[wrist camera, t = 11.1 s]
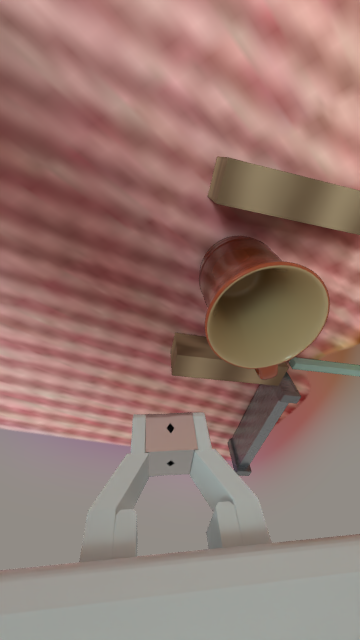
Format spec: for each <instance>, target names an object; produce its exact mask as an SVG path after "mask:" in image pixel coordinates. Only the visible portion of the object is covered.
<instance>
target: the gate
mask: <svg viewBox="0 0 360 640" xmlns="http://www.w3.org/2000/svg"><path fill="white" fill-rule="evenodd" d="M300 398H301V395H300V394H299V392H298V390H297V389H296V387H295V385H294V384H293V382H292V380H291V378H290V377H289V375H288V373H287V372H286V373H285V375H284V377H283V378H282V380H281V382H280V384H279V385H278V386H275V385H265V384H260V386H259V388H258V390H257V392H256V393H255V395H254V397H253V399H252V401H251V403H250V405H249V407H248V409H247V411H246V413H245V415H244V417H243V419H242V420H241V422H240V424H239V426H238V428H237V430H236V432H235V434H234V436H233V438H232V439H230V440H229V442H228V447H229V451H230V455H231V459H232V463H233V468H234V471H235V472H236V473H237V474H238V475H240V476H249V475H250V473H251V468H250V463H251V461H252V460H253V458H254V457H255V455H256V454H257V452H258V450H259V449H260V447H261V446H262V444H263V443H264V441H265V439H266V438H267V436H268V435H269V433H270V432H271V430H272V428H273V427H274V425H275V424H276V422H277V421H278V419H279V417H280V416H281V414H282V413H283V411H284V410H285V408H286V406H287V405H288V403H297V402H298V401H299V399H300Z"/></svg>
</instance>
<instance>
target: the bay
mask: <svg viewBox="0 0 360 640" xmlns="http://www.w3.org/2000/svg"><path fill="white" fill-rule="evenodd" d="M289 364H290V366H291V367H292V369H298V370H307V371H316V372H324V373H334V374H342V375H351V376H360V365H353V364H345V363H336V362H329V361H321V360H312V359H304V358H296V357H294V358H293V359H291V360H290V361H289Z"/></svg>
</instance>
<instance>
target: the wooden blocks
mask: <svg viewBox="0 0 360 640" xmlns="http://www.w3.org/2000/svg"><path fill="white" fill-rule="evenodd" d="M208 197H209V198H210V199H211V200H213V201H214V202H215V203H216V204H220V205H224V206H229V207H234V208H238V209H243V210H247V211H252V212H257V213H261V214H266V215H270V216H275V217H279V218H284V219H289V220H293V221H298V222H302V223H307V224H312V225H316V226H321V227H325V228H330V229H335V230H339V231H344V232H348V233H353V234H357V235H360V191H359V190H355V189H351V188H347V187H343V186H339V185H335V184H331V183H327V182H323V181H319V180H315V179H311V178H307V177H303V176H300V175H296V174H292V173H288V172H284V171H280V170H276V169H272V168H268V167H264V166H260V165H256V164H252V163H248V162H244V161H240V160H236V159H232V158H227V157H217V159H216V164H215V168H214V172H213V176H212V180H211V185H210V189H209V193H208ZM171 368H172V375H174V376H184V377H194V378H204V379H214V380H225V381H235V382H245V383H255V384H265V385H275V386H278V385H279V384H280V382H281V380H282V378H283V377H284V375H285V373H286V371H287V370H288V368H289V367H288V365H287V364H286V362H283V363H281V364H278V374H277V376H276V377H274V378H271V379H267V380H262V379H260V378H259V377H258V375H257V373H256V371H255V369H247V368H242V367H238V366H235V365H232V364H229V363H227V362H225V361H224V360H222V359H221V358H219V357H218V356H217V355H216V354H215V353H214V352H213V350H212V349H211V347H210V346H209V344H208V341H207V338H206V337H204V336H196V335H188V334H181V333H175V336H174V340H173V344H172V348H171Z"/></svg>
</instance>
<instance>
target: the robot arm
mask: <svg viewBox="0 0 360 640" xmlns="http://www.w3.org/2000/svg"><path fill="white" fill-rule="evenodd" d="M181 474H190V476H191V478H192V480H193V481H194V483H195V484H196V486H197V487H198V489H199V490H200V492H201V494H202V495H203V497H204V498H205V500H206V501H207V503H208V504H209V506H210V507H211V509H212V511H213V512H214V513H213V516H212V518H211V521H210V524H209V527H208V529H207V532H206V534H207V541H208V549H207V550H198V551H188V552H178V553H168V554H159V555H148V556H138V557H137V513H136V512H135V511H134V510H133V508H134V506H135V504H136V502H137V500H138V498H139V496H140V494H141V492H142V490H143V489H144V486H145V485H146V483H147V481H148V479H149V477H151V476H162V475H181ZM0 640H360V534H356V535H346V536H337V537H326V538H317V539H306V540H296V541H286V542H277V543H272V542H271V539H270V535H269V532H268V529H267V526H266V522H265V519H264V516H263V512H262V509H261V506H260V503H259V499H258V498H257V496H256V495H255V494H254V493H253V492H252V491H251V489H250V488H249V487H248V486H247V485H246V484H245V483H244V481H243V480H242V479H241V478H240V477H239V476H238V474H237V473H236V472H235V471H234V470H233V469H232V468H231V467H230V465H229V464H228V463H227V462H226V461H225V460H224V458H223V457H222V456H221V455H220V454H219V453H218V451H217V450H216V449H212V447H211V442H210V437H209V432H208V427H207V423H206V418H205V414H204V412H195V413H191V412H187V413H169V414H134V415H133V424H132V440H131V453H130V454H126V456H125V457H124V459H123V460H122V462H121V463H120V465H119V466H118V468H117V469H116V471H115V472H114V474H113V475H112V477H111V478H110V480H109V481H108V483H107V484H106V485H105V487H104V488H103V490H102V491H101V493H100V494H99V496H98V497H97V499H96V500H95V502H94V503H93V505H92V506H91V508H90V509H89V510H88V515H87V520H86V526H85V532H84V538H83V543H82V549H81V555H80V561H79V563H69V564H59V565H50V566H39V567H30V568H19V569H9V570H0Z"/></svg>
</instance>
